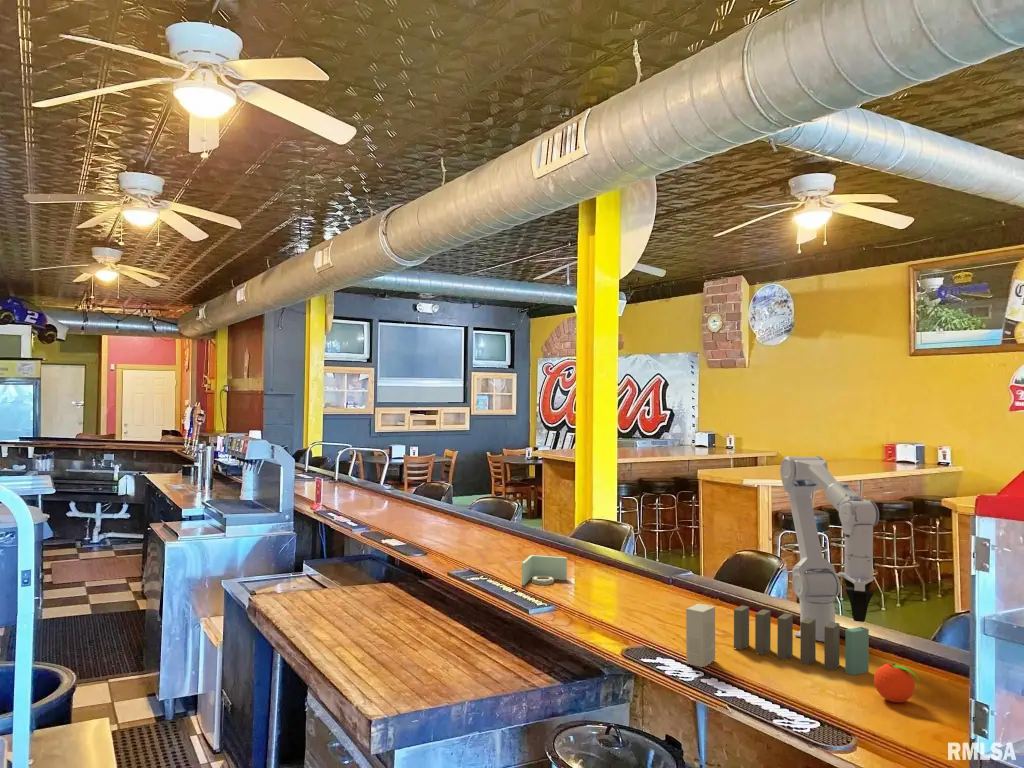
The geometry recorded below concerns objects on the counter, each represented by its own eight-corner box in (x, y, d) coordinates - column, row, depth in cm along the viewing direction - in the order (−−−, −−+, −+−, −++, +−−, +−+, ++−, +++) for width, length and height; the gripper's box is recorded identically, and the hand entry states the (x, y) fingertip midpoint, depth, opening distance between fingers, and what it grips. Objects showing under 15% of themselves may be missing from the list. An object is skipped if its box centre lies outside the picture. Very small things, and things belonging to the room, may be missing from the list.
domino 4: (800, 663, 162) (800, 622, 162) (807, 657, 166) (807, 617, 166) (808, 665, 161) (809, 623, 161) (815, 659, 165) (815, 618, 165)
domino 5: (824, 668, 159) (824, 626, 159) (830, 662, 163) (830, 621, 163) (833, 670, 158) (833, 628, 158) (839, 664, 162) (839, 623, 162)
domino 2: (755, 653, 168) (755, 613, 169) (762, 648, 172) (762, 609, 172) (763, 655, 167) (763, 615, 167) (770, 650, 171) (770, 610, 171)
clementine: (925, 702, 142) (925, 664, 142) (915, 713, 136) (915, 674, 137) (879, 691, 147) (879, 655, 147) (869, 701, 142) (869, 663, 142)
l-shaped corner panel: (521, 587, 229) (522, 562, 229) (530, 578, 240) (530, 555, 240) (560, 590, 226) (560, 565, 226) (566, 581, 237) (567, 557, 238)
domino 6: (845, 672, 157) (845, 629, 157) (861, 669, 159) (861, 626, 159) (852, 675, 155) (852, 632, 156) (868, 672, 157) (868, 629, 158)
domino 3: (777, 658, 165) (777, 617, 165) (784, 653, 169) (784, 613, 169) (785, 660, 164) (785, 619, 164) (792, 654, 168) (792, 614, 168)
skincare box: (697, 656, 166) (697, 602, 166) (715, 661, 163) (716, 606, 163) (685, 663, 161) (685, 608, 161) (703, 668, 158) (704, 612, 159)
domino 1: (733, 648, 171) (733, 609, 172) (741, 643, 175) (741, 605, 175) (741, 650, 170) (741, 611, 171) (749, 645, 174) (749, 606, 174)
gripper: (838, 547, 173) (838, 605, 173) (839, 559, 160) (839, 623, 159) (872, 550, 170) (871, 609, 170) (875, 562, 157) (875, 627, 157)
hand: (858, 616), depth 164 cm, fingers open, 7 cm apart
